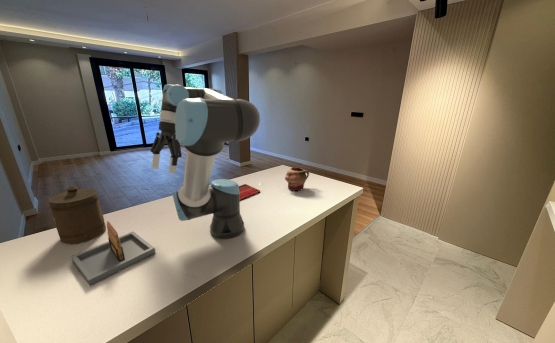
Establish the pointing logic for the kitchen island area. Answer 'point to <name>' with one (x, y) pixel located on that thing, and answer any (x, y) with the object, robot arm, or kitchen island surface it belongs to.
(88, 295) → the kitchen island surface
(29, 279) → the kitchen island surface
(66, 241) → the wooden container
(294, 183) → the brown ceramic jug
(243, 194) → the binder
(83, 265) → the tray
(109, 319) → the kitchen island surface
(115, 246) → the ammunition clip
